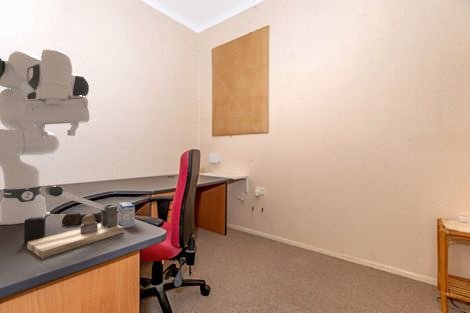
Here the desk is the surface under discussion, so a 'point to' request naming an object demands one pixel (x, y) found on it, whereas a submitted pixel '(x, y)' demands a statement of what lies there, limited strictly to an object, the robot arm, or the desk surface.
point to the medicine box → (126, 214)
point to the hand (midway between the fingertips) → (57, 136)
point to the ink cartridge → (34, 229)
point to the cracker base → (78, 235)
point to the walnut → (88, 219)
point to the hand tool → (77, 218)
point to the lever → (72, 197)
